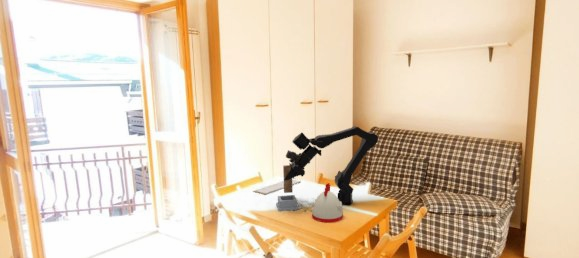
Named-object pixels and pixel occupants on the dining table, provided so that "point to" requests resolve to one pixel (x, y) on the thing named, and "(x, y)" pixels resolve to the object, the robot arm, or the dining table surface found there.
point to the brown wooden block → (287, 182)
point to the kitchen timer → (327, 207)
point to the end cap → (287, 203)
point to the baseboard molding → (274, 187)
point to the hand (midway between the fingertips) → (285, 178)
